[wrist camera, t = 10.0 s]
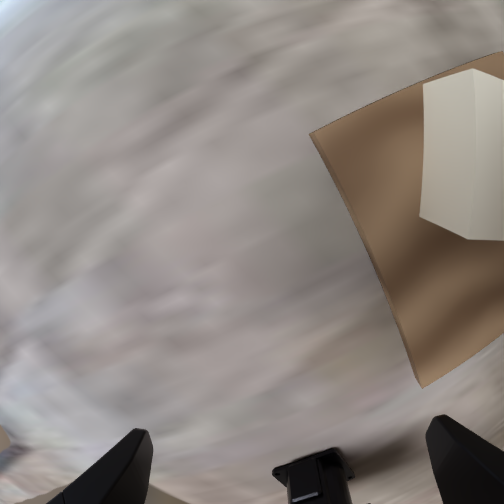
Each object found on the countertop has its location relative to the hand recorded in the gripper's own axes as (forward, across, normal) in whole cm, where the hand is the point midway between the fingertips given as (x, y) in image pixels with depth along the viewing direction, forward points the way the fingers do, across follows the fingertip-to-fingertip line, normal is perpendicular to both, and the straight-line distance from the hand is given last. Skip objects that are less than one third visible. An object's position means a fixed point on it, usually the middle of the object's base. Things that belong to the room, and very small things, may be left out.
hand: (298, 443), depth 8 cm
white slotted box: (+10, -11, -9) cm, 18 cm away
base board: (+12, -14, -4) cm, 19 cm away
